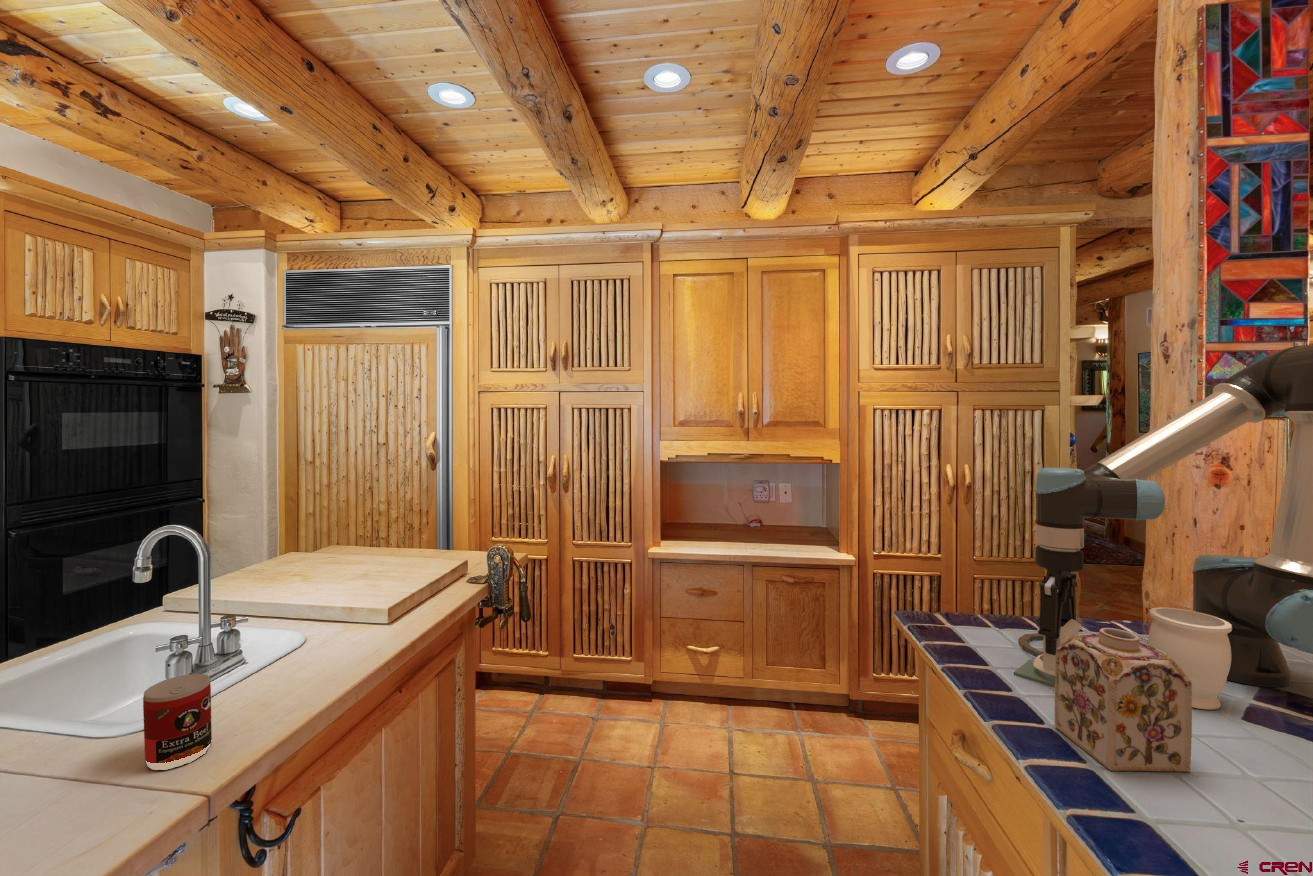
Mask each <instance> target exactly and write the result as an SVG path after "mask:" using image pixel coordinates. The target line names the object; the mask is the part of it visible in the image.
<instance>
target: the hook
mask: <svg viewBox="0 0 1313 876" xmlns="http://www.w3.org/2000/svg"><path fill="white" fill-rule="evenodd" d="M1082 627H1083V626H1082V624H1081V623H1080V622H1078V621H1077V619H1076V620H1074V619H1071V620H1069V621H1068V622H1067V623H1066V624H1065V625H1064V626H1063V627H1062V628H1061V630H1060V638H1062V644H1063V643H1064V642H1066V641H1067V640H1069V639H1070V638H1072V637H1074V636H1075V635H1077V634H1078V632H1080V630H1081V629H1082ZM1033 661H1034V663H1033V665H1034V667H1036V668H1037V669H1038V670H1040V671H1042V672H1045V673H1047V674H1050V675H1054V676H1055V671H1052V670H1049V669H1045V668H1043V654H1041V655H1038V656H1037V657H1035V659H1034V660H1033Z"/></svg>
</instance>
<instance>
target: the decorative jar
mask: <svg viewBox="0 0 1313 876" xmlns="http://www.w3.org/2000/svg"><path fill="white" fill-rule="evenodd" d="M1098 632H1099V633H1098ZM1098 632H1089V633H1088V632H1086V633H1085V632H1084V633H1076V634H1075V636H1074V637H1072V638H1070V639H1069V640H1067V641H1066V642H1064V643H1063V644H1062V645H1060V647H1058V648H1057V649H1056V665H1055V666H1056V667H1055V687H1054V727H1055V729H1057V730H1058V731H1060V732H1061V733H1063V734H1064V735H1065V736H1066V737H1067V738H1069V740H1071V741H1072V742H1073V743H1075V744H1076V745H1077V746H1078V747H1080V748H1081V750H1083V751H1085V752H1086V753H1087V754H1089V755H1090V756H1091V757H1093V758H1094V759H1095V760H1096V761H1097V762H1099V763H1100V764H1101V763H1102V765H1103V766H1104V767H1105V768H1106V769H1108V770H1109V771H1112V772H1116V771H1117V772H1118V771H1119V772H1122V771H1124V772H1133V771H1137V772H1138V771H1139V772H1140V771H1141V772H1178V773H1179V772H1180V773H1182V772H1185V773H1189V772H1190V771H1191V764H1192V758H1191V757H1192V737H1193V735H1192V734H1193V733H1192V732H1193V730H1192V727H1193V726H1192V725H1193V724H1192V723H1193V722H1192V720H1193V710H1192V708H1193V707H1192V682H1191V681H1190V679H1189V678H1188V677H1187V676H1186V675H1185V673H1184V672H1183V671H1182V670H1181V669H1180V667H1179V666H1178V665H1177V664H1176V663H1175V661H1174V660H1173V659H1172V658H1171V656H1170V655H1169V654H1167V653H1165V652H1163V651H1161V650H1159V649H1157V648H1155V647H1153V646H1151V645H1149V644H1148V643H1147V642H1145V641H1144V642H1143V641H1141V640H1140V637H1139V636H1138V635H1137V634H1135V633H1133V632H1130V631H1127V630H1122V629H1119V628H1112V627H1102V628H1100V629H1099V631H1098Z"/></svg>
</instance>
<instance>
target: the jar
mask: <svg viewBox="0 0 1313 876" xmlns="http://www.w3.org/2000/svg"><path fill="white" fill-rule="evenodd" d="M1149 616H1150V618H1151V619H1152V622H1151V624H1150V628H1149V630H1148V631H1149V632H1148V641H1147V642H1148V643H1147V644H1149V645H1151V646H1153V647H1155V648H1157V649H1159V650H1161V651H1163V652H1165V653H1167V654H1169V655H1170V656H1171V658H1172V659H1173V660H1174V661H1175V663H1176V664H1177V665H1178V666H1179V667H1180V669H1181V670H1182V671H1183V672H1184V673H1185V675H1186V676H1187V677H1188V678H1189V679H1190V681H1191V682H1192V708H1193V709H1200V710H1218V709H1220V707H1221V702H1220V700H1219V699H1218V696H1220V695H1221V693H1223V691H1224V689H1225V687H1226V683H1227V681H1228V680H1227V676H1228V673H1229V670H1230V666H1231V646H1230V641H1229V638H1228V636H1227V633H1230V632H1231V631H1232V625H1231V624H1230V623H1229V622H1227V621H1225V620H1223V619H1220V618H1217V617H1214V616H1211V615H1207V614H1203V613H1199V612H1195V611H1193V610H1190V609H1184V608H1183V609H1182V608H1175V607H1153V608H1150V609H1149Z"/></svg>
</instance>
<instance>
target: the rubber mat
mask: <svg viewBox="0 0 1313 876" xmlns="http://www.w3.org/2000/svg"><path fill="white" fill-rule="evenodd" d="M1034 661H1035V660H1032V659H1028V660H1027V661H1025V663H1023V664H1022V665H1020V666H1019V667H1018V668H1017V669H1016V670H1015V671H1013V675H1014V676H1017V677H1020V678H1023V679H1027V680H1031V681H1033V682H1036V683H1040V684H1042V685H1045V686H1048V687H1052V688H1055V676H1054V675H1050V674H1047V673H1045V672H1042V671H1040V670H1038V669H1037V668H1036V667H1034V665H1033V663H1034Z"/></svg>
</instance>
